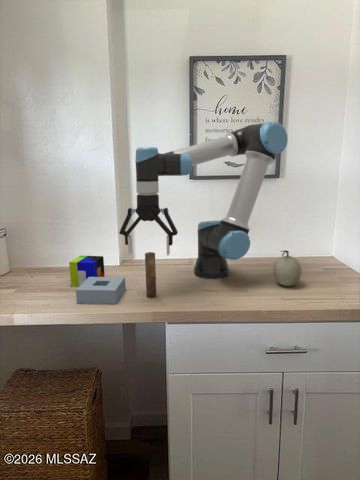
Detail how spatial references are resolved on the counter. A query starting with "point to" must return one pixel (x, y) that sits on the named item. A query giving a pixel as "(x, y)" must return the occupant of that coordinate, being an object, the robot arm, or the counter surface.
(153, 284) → the dowel
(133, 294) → the counter surface
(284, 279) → the fruit
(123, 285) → the socket block
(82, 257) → the puzzle toy
